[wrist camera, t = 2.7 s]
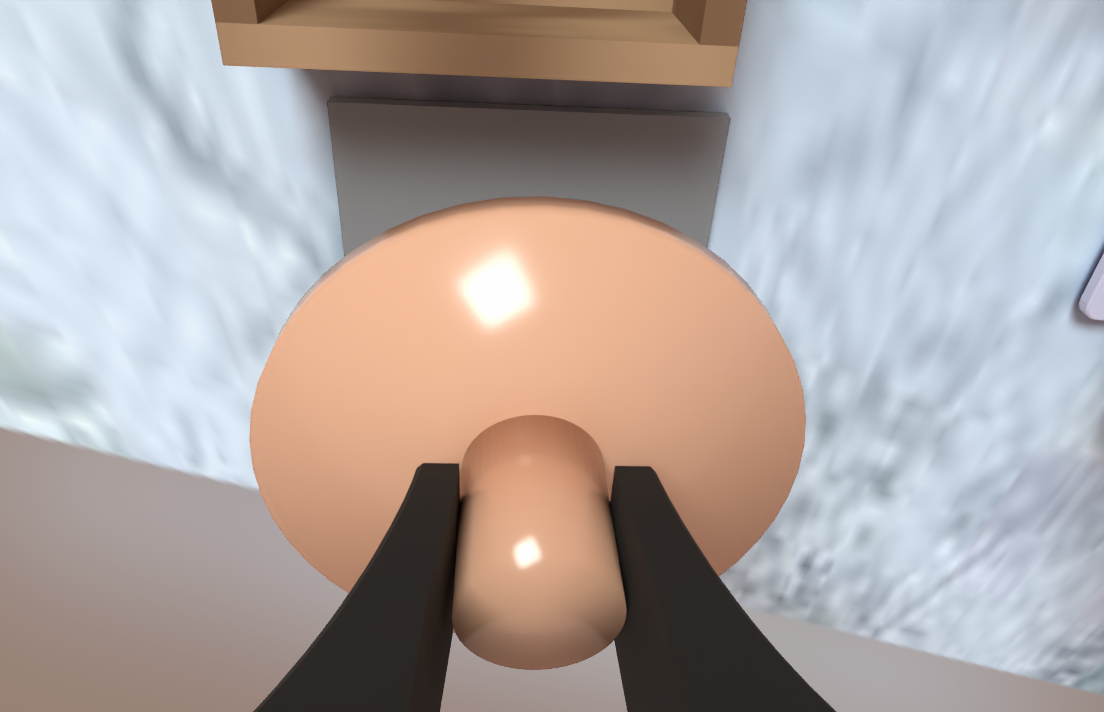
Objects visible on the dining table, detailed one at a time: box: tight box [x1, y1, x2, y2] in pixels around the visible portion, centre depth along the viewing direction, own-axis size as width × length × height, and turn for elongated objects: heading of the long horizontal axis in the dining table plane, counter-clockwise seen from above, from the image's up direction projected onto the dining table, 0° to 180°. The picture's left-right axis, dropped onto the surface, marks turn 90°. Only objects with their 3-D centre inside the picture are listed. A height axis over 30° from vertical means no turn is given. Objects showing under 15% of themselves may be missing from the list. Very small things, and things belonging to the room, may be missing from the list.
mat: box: [327, 97, 731, 257], centre depth 20 cm, size 9×9×1 cm
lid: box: [250, 196, 806, 670], centre depth 13 cm, size 10×10×4 cm
